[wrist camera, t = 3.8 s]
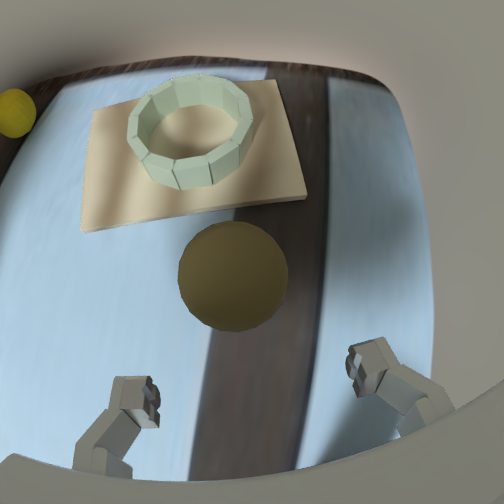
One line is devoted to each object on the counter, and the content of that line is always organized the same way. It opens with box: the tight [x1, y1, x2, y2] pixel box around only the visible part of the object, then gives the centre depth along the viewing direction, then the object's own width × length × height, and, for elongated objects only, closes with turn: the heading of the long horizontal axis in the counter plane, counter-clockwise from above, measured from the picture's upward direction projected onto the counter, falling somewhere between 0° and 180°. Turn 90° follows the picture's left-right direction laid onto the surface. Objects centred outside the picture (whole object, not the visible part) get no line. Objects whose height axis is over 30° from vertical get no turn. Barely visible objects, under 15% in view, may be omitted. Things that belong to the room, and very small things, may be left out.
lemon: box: [0, 89, 36, 138], centre depth 22 cm, size 6×6×8 cm
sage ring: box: [127, 74, 253, 191], centre depth 23 cm, size 10×10×4 cm
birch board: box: [81, 80, 307, 233], centre depth 25 cm, size 20×14×1 cm
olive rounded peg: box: [178, 221, 289, 332], centre depth 17 cm, size 6×6×11 cm
